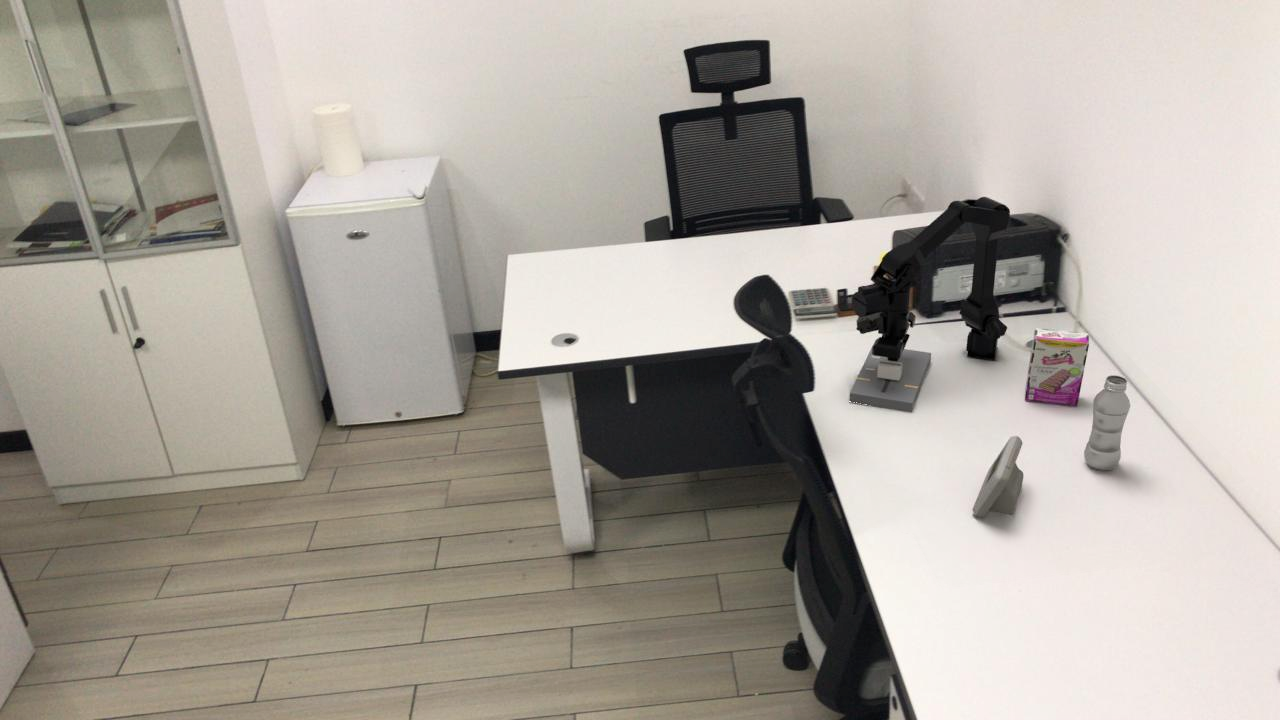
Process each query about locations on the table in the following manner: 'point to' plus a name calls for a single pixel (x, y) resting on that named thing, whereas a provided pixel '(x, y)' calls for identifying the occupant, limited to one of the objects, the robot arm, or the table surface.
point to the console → (891, 382)
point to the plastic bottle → (1107, 424)
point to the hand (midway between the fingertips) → (892, 365)
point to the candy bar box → (1056, 367)
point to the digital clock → (1001, 482)
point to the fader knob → (890, 369)
